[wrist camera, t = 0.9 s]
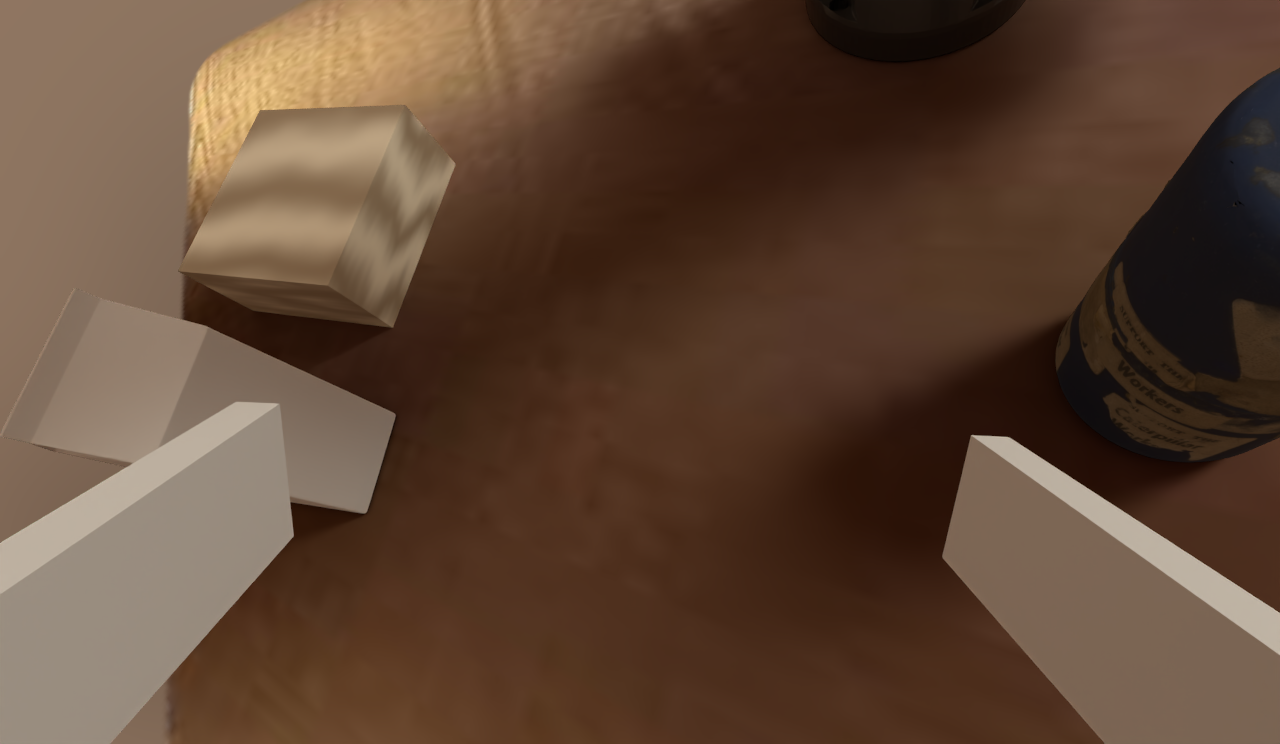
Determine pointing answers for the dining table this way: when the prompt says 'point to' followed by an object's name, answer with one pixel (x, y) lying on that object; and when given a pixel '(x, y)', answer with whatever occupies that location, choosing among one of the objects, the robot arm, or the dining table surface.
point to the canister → (1191, 303)
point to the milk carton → (189, 399)
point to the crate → (323, 214)
